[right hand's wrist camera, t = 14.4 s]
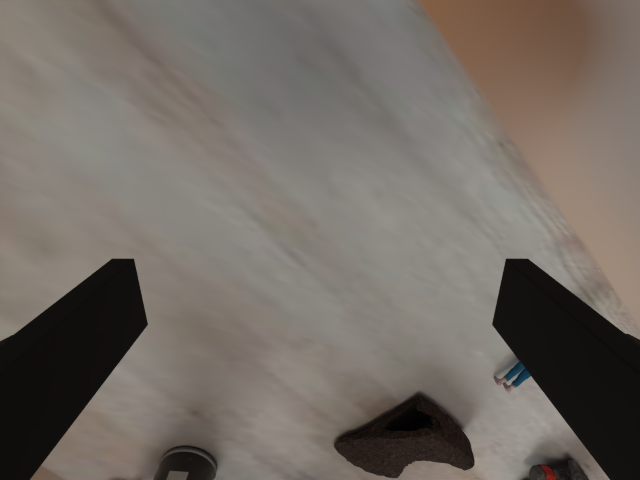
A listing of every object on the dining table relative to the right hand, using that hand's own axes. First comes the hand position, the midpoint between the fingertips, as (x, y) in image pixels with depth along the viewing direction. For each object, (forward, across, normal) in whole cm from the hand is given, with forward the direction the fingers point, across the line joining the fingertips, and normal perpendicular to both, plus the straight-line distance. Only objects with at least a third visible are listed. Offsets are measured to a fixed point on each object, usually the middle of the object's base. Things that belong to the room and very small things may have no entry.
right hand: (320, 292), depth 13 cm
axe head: (+31, +13, -45) cm, 56 cm away
